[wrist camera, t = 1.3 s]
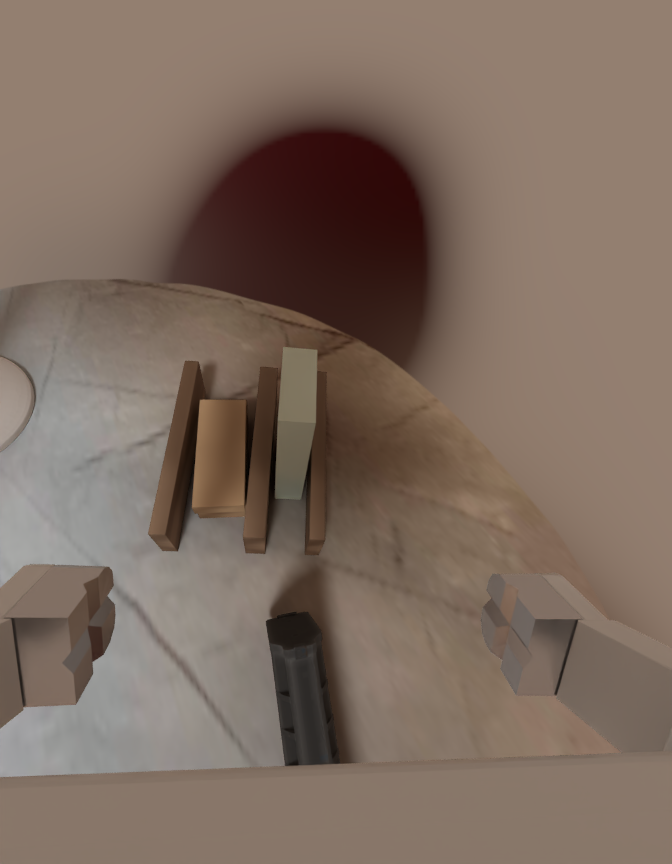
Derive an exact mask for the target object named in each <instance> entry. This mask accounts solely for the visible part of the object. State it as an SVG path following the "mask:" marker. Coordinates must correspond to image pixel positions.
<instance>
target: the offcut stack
mask: <svg viewBox="0 0 672 864" xmlns="http://www.w3.org/2000/svg"><path fill="white" fill-rule="evenodd" d="M247 450H248V415H247V400H200V405H199V418H198V432H197V445H196V458H195V472H194V485H193V498H192V509H193V511H194V513H195V514H196V513H198V515H199V517H200V518H219V517H242V516H245V512H246V502H247Z"/></svg>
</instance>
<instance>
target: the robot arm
mask: <svg viewBox="0 0 672 864" xmlns="http://www.w3.org/2000/svg"><path fill="white" fill-rule="evenodd" d="M113 586H114V583H113V573H112V570H111V569H110V568H109V567H103V566H76V565H49V564H30V565H26V566H23V567H22V568H21V569H20V570H19V571H18V572H17V573H16V574H15V575H14V576H13V577H12V578H11V579H10V580H8V581H7V582H6V583H5V584H4V585H3V586H2V587H1V588H0V728H1V727H3V726H4V725H5V724H6V723H8V722H9V721H10V720H11V719H13V718H14V717H15V716H16V715H18V714H19V713H20V712H21V711H23V707H37V706H58V705H76V704H77V702H78V700H79V698H80V697H81V695H82V693H83V691H84V689H85V687H86V686H87V684H88V682H89V680H90V678H91V677H92V675H93V665H92V662H94V661H95V660H96V659H98V658H99V657H101V656H102V655H104V653H105V651H106V649H107V647H108V645H109V643H110V640H111V636H112V633H113V630H114V624H115V604H114V603H113V602H112V601H111V600H110V599H109V597H108V596H107V595H108V594H109V592H110V591H111V589H112V587H113ZM487 592H488V593H489V595H490V597H491V599H490V600H489V601H488V602H487V603H486V604H485V605H484V606H483V610H482V616H481V627H482V634H483V637H484V640H485V643H486V645H487V647H488V648H489V650H490V652H491V653H493V654H494V655H496V656H497V657H498V658H500V659H501V660H502V664H501V668H500V669H501V671H502V672H503V674H504V676H505V677H506V679H507V681H508V682H509V684H510V686H511V687H512V689H513V691H514V693H515V694H516V696H557V697H556V699H558V700H559V701H560V702H561V703H563V704H564V705H565V706H566V707H567V708H569V709H570V710H571V711H572V712H573V713H575V714H576V715H577V716H578V717H579V718H581V719H582V720H583V721H584V722H585V723H587V724H588V725H589V726H590V727H591V728H593V729H594V730H595V731H596V732H597V733H599V734H600V735H601V736H602V737H603V738H605V739H606V740H607V741H608V742H610V743H611V744H612V745H613V746H614V747H616V748H617V749H618V750H619V751H620V752H622V753H609V754H586V755H560V756H532V757H505V758H478V759H451V760H423V761H398V762H373V763H348V764H323V765H298V766H274V767H249V768H224V769H199V770H173V771H148V772H122V773H97V774H71V775H46V776H21V777H0V864H672V648H671V647H669V646H667V645H665V644H663V643H661V642H659V641H657V640H654V639H652V638H650V637H648V636H646V635H644V634H642V633H640V632H638V631H636V630H634V629H632V628H630V627H628V626H626V625H624V624H622V623H620V622H618V621H616V620H608V619H607V618H606V617H605V616H604V615H603V614H601V613H600V612H599V611H598V610H597V609H596V608H595V607H594V606H593V605H592V604H591V603H590V602H589V601H588V600H587V599H586V598H585V597H584V596H583V595H582V594H581V593H580V592H579V591H578V590H577V589H576V588H575V587H573V586H572V585H571V584H570V583H569V582H568V581H567V580H566V579H565V578H564V577H563V576H562V575H559V574H557V573H535V574H492V576H491V577H490V579H489V581H488V586H487Z"/></svg>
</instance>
